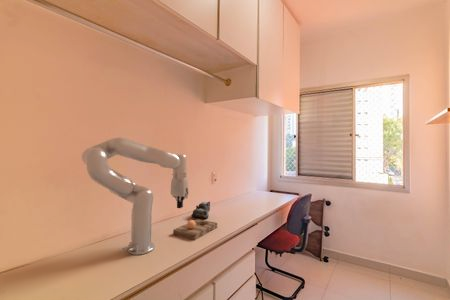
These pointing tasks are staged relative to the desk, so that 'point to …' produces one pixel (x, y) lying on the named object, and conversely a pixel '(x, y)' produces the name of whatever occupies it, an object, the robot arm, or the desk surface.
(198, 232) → the board
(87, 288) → the desk surface
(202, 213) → the lucky cat figurine
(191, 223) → the ball
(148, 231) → the robot arm
